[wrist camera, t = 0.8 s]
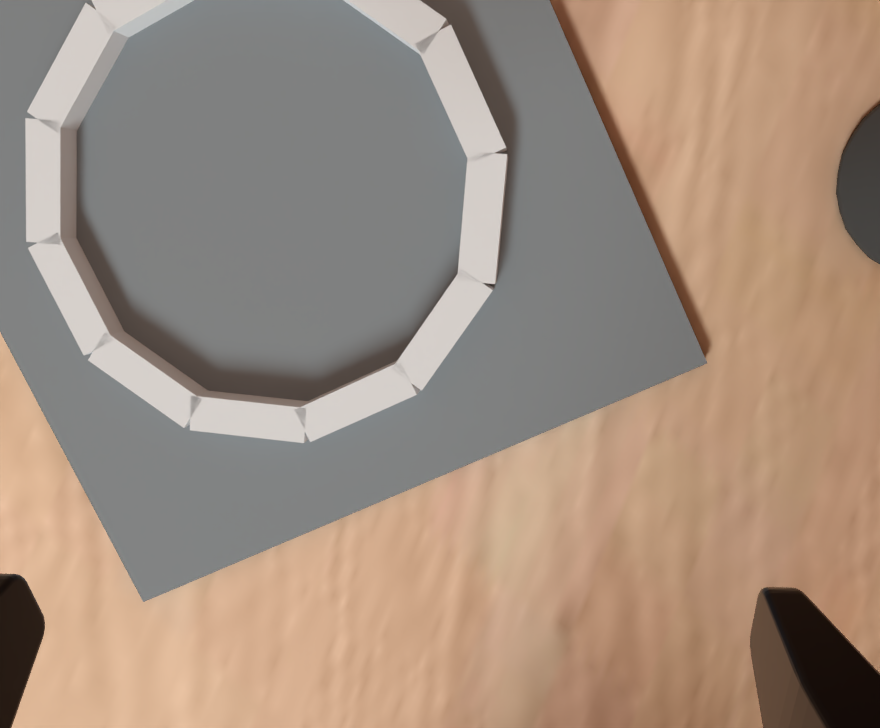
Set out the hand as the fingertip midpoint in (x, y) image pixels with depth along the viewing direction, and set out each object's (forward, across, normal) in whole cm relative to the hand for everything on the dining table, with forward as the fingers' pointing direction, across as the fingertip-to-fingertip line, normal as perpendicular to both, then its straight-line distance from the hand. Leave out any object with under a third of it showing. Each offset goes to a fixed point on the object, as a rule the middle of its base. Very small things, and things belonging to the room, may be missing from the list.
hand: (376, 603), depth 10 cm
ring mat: (+14, +5, 0) cm, 15 cm away
